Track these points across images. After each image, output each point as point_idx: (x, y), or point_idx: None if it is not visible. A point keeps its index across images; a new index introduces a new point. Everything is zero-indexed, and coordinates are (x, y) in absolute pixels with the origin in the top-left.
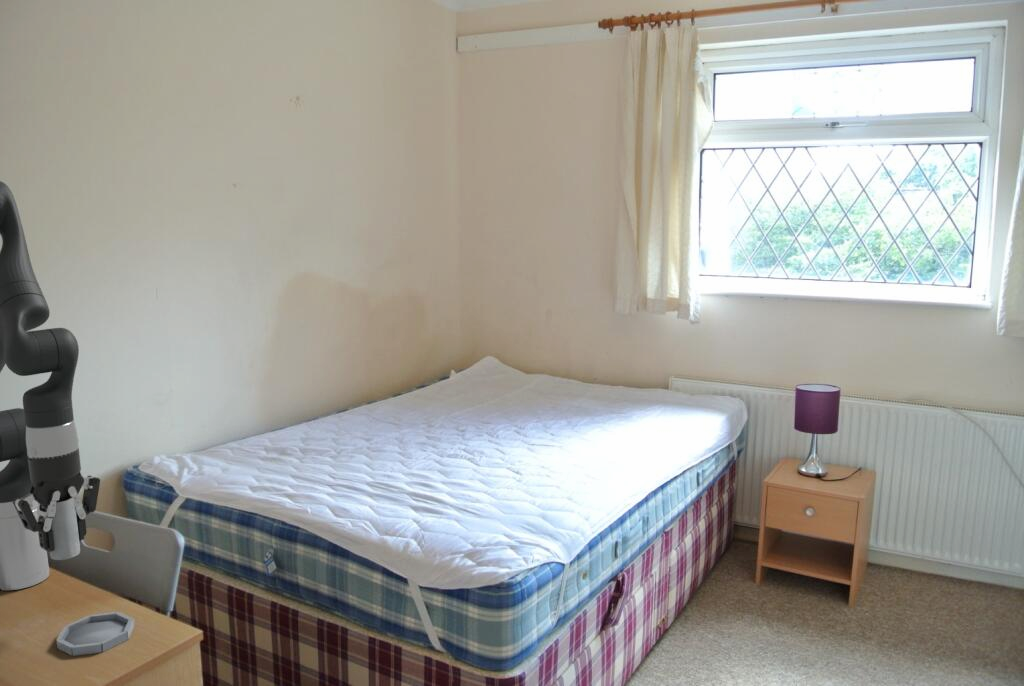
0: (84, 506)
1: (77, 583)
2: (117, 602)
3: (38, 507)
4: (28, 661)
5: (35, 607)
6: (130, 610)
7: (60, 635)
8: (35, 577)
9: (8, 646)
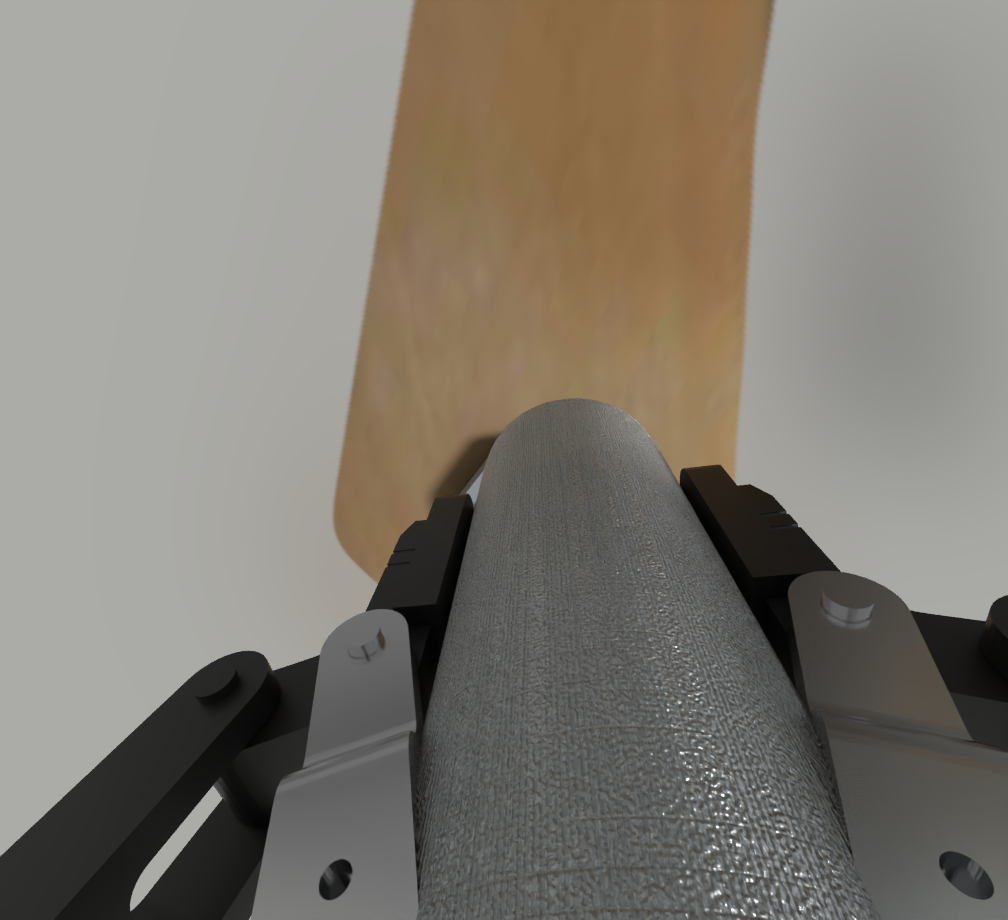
0: (1004, 747)
1: None
2: (720, 354)
3: (267, 912)
4: (380, 505)
5: (499, 117)
6: (708, 446)
7: (470, 494)
8: None
9: (353, 379)
